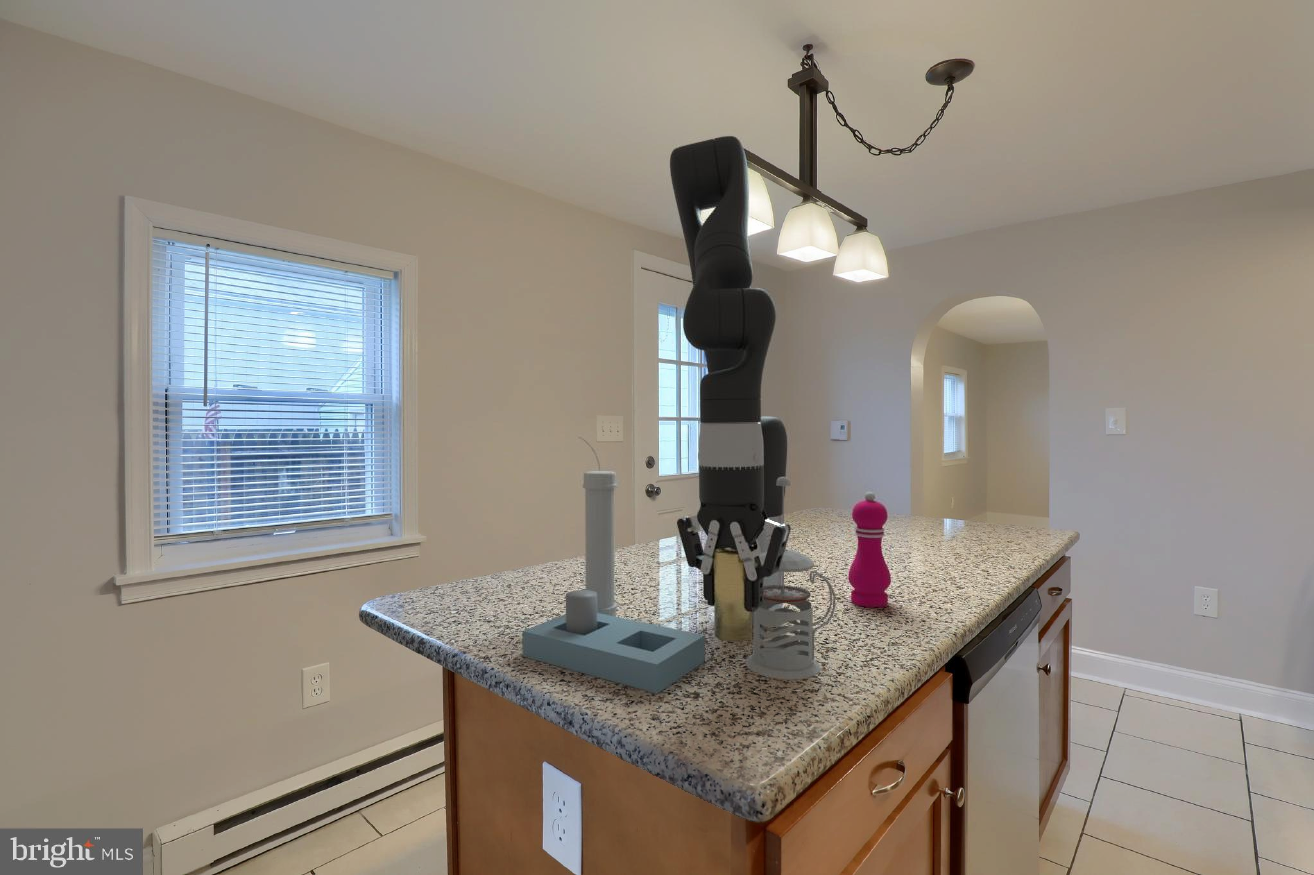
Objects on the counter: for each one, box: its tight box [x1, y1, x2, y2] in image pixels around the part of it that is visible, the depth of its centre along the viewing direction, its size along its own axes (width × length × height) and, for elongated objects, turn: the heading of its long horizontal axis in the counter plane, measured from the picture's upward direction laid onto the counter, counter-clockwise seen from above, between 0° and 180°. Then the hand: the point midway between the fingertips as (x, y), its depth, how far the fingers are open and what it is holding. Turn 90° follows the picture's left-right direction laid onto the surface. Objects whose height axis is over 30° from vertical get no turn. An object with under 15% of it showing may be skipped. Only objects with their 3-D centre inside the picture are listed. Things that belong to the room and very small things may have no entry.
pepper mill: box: [847, 491, 892, 608], centre depth 109 cm, size 7×7×20 cm
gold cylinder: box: [713, 548, 753, 643], centre depth 71 cm, size 4×4×10 cm
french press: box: [745, 477, 836, 681], centre depth 81 cm, size 10×12×25 cm
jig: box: [522, 589, 706, 695], centre depth 83 cm, size 12×22×8 cm, turn 57°
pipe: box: [578, 436, 618, 617], centre depth 99 cm, size 6×6×30 cm
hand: (732, 606), depth 71 cm, fingers closed on gold cylinder, 4 cm apart
